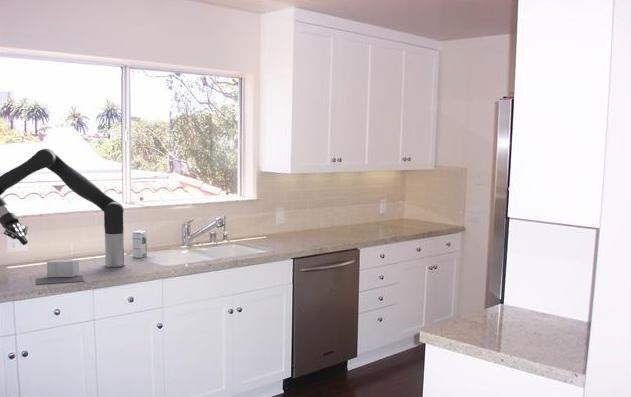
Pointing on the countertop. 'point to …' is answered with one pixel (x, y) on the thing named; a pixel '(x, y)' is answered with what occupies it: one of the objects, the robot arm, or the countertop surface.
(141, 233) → the syrup box
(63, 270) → the supplement box
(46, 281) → the rubber mat
